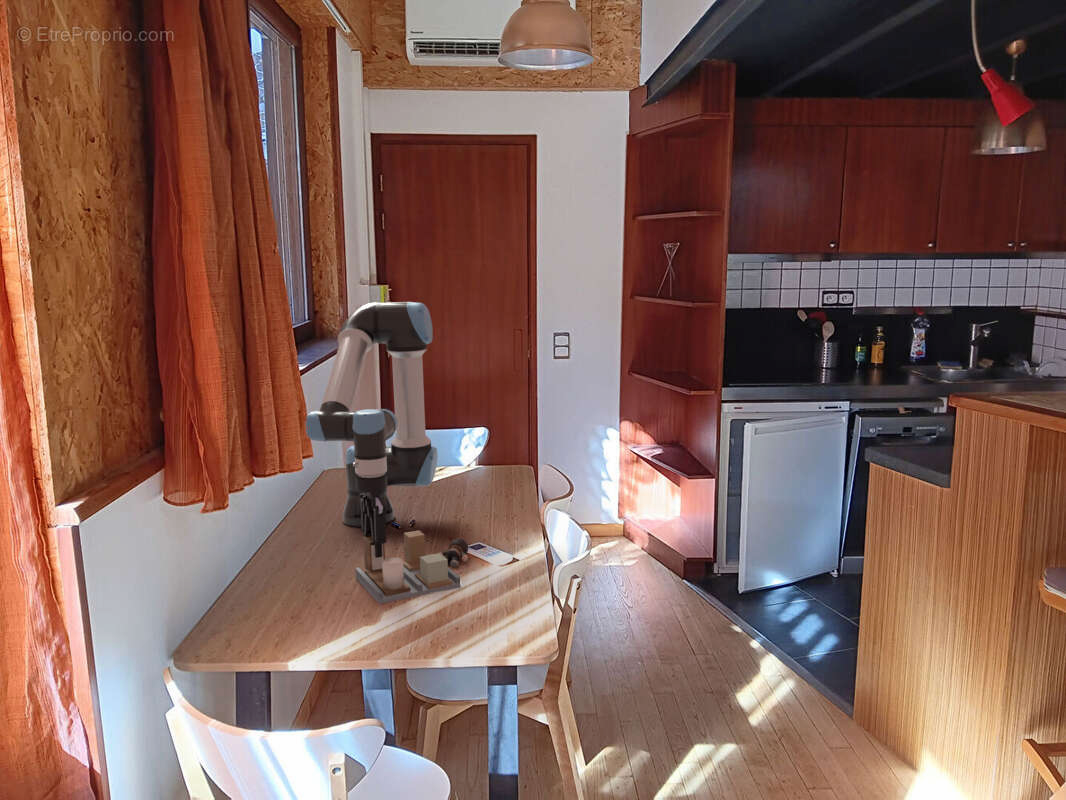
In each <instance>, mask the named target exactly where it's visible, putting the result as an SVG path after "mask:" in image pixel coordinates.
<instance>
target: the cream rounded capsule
mask: <svg viewBox="0 0 1066 800" xmlns="http://www.w3.org/2000/svg"><path fill="white" fill-rule="evenodd" d="M403 562H404V559H403V558H401V557H396V556H395V557H393V556H392V557H388V558H385V559H384V560H383V561H382V568H383V587H384V588H385V589H388V590H395V589H400V588H402V587H403V586H404V567H403Z"/></svg>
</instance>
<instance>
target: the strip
mask: <svg viewBox="0 0 1066 800" xmlns="http://www.w3.org/2000/svg"><path fill="white" fill-rule="evenodd" d="M370 543H372V537H363V556H364V557H363V558H364V571H363V572H365V574H366V575H367V576H368V577H369V578H370V579H371V580H372V582H373V583H374V584H375V585H376V586H377V587H378V588H379V589H380V590H381V591H382V592H383V594H384V595H385V596H388V595H393V594H398V593H403V592H408V591H411V588H410V587H409V586H408V585H407V584H406V583H405V582H404V586H403V587H402V588H400V589H395V590H388V589H385V588H384V587H383V569H378V570H372V553H371V546H370ZM385 544H386V543H383V560H384V559H386V545H385Z"/></svg>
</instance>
